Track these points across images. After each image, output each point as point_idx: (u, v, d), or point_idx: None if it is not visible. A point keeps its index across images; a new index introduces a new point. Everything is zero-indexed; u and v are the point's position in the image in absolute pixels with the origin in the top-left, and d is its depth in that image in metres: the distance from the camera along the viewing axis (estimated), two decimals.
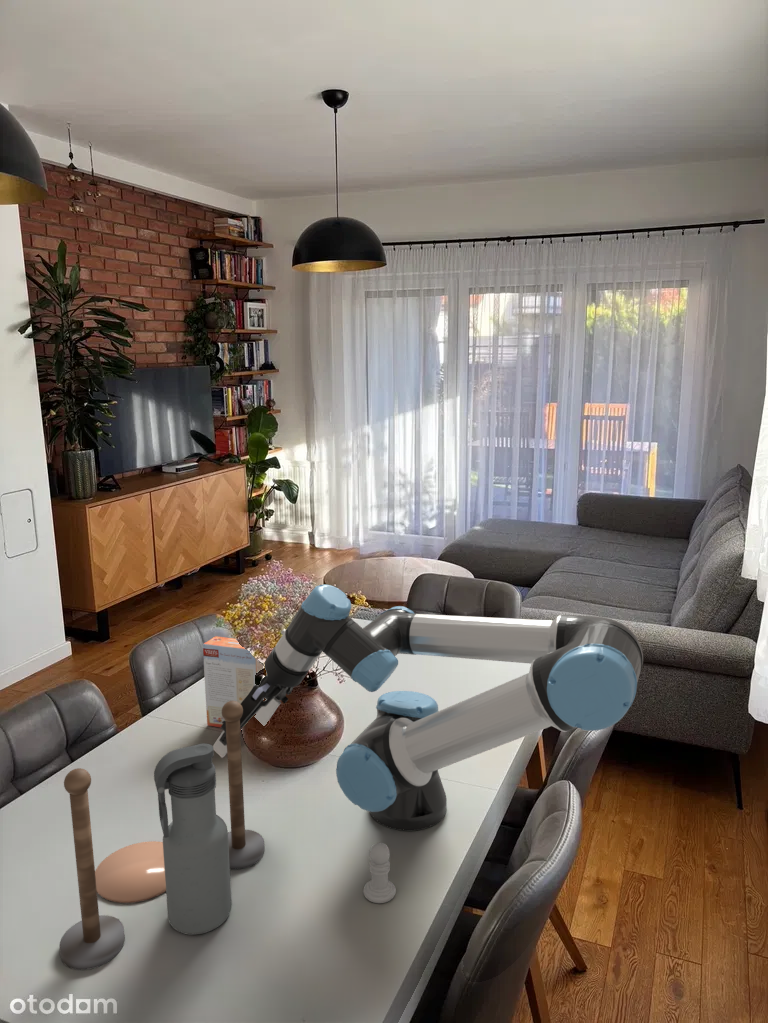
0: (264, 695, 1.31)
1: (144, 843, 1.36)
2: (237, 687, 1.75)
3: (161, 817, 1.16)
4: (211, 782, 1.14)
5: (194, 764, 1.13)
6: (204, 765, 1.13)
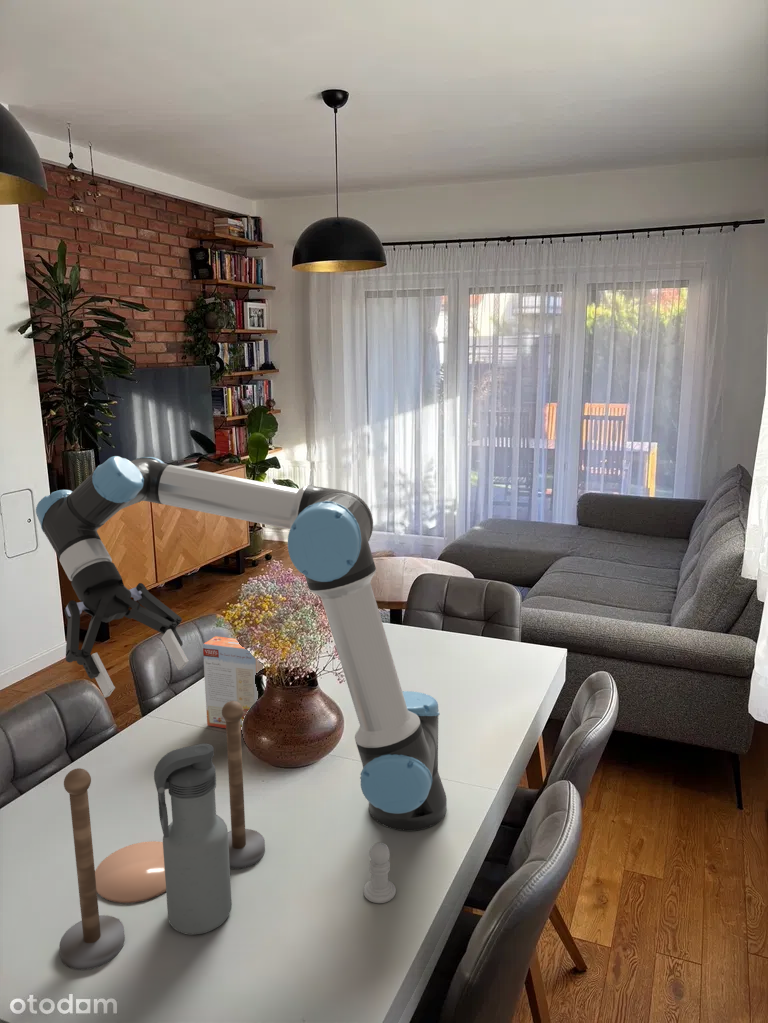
0: (70, 602, 1.21)
1: (144, 843, 1.36)
2: (237, 687, 1.75)
3: (161, 817, 1.16)
4: (211, 782, 1.14)
5: (194, 764, 1.13)
6: (204, 765, 1.13)
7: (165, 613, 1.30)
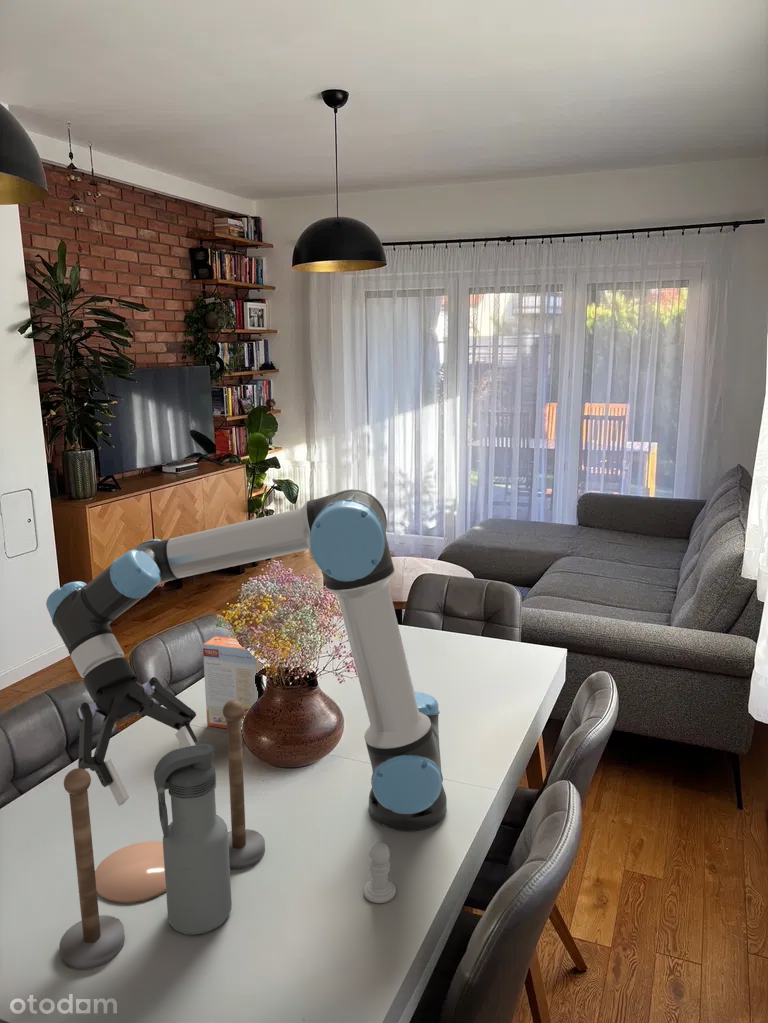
0: (83, 704, 1.18)
1: (144, 843, 1.36)
2: (237, 687, 1.75)
3: (161, 817, 1.16)
4: (211, 782, 1.14)
5: (194, 764, 1.13)
6: (204, 765, 1.13)
7: (179, 708, 1.27)
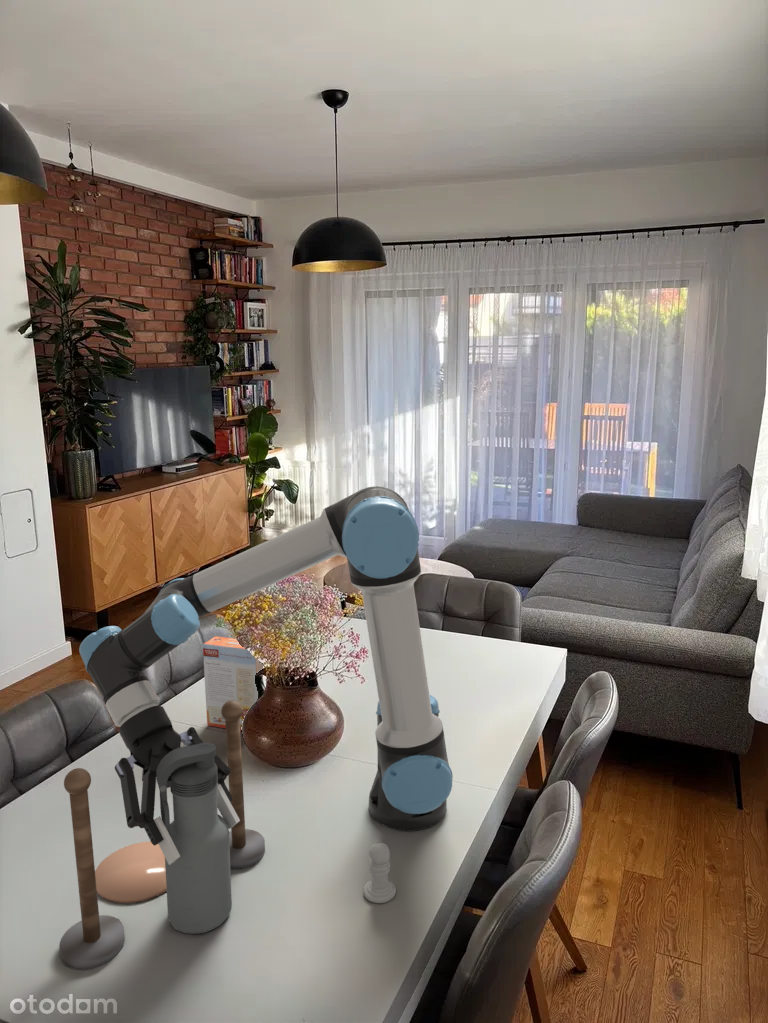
0: (121, 760, 1.14)
1: (144, 843, 1.36)
2: (237, 687, 1.75)
3: (162, 816, 1.16)
4: (213, 781, 1.14)
5: (196, 763, 1.14)
6: (206, 764, 1.14)
7: None
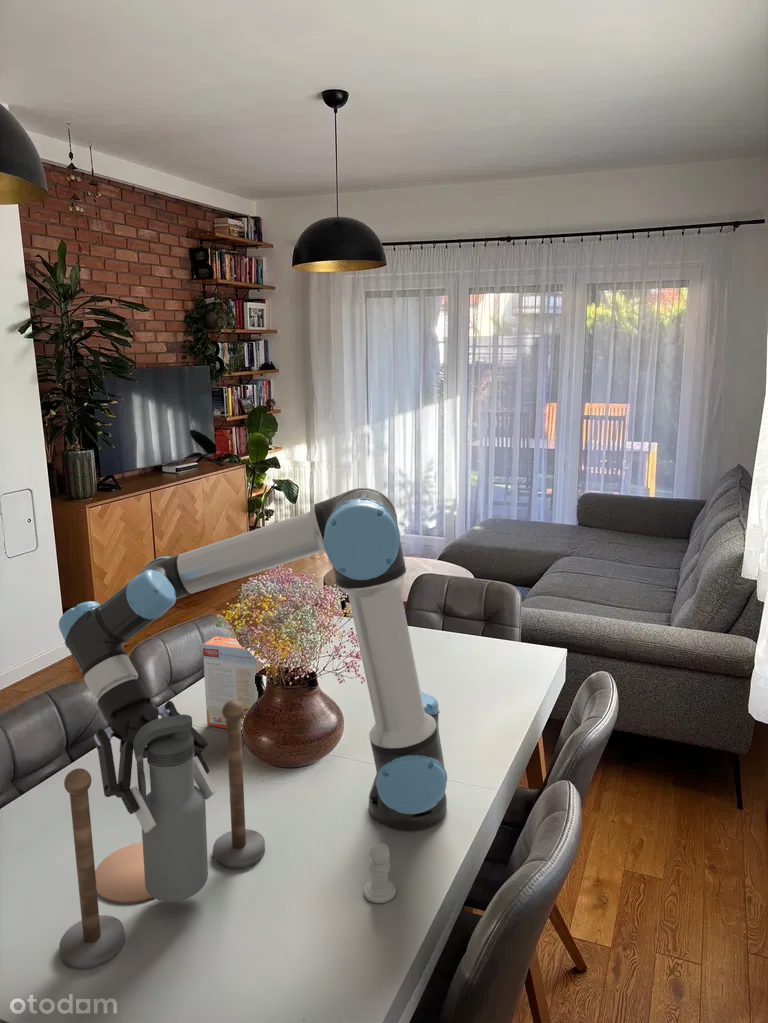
0: (99, 731, 1.16)
1: None
2: (237, 687, 1.75)
3: (140, 786, 1.18)
4: (189, 752, 1.16)
5: (173, 734, 1.16)
6: (182, 735, 1.16)
7: None
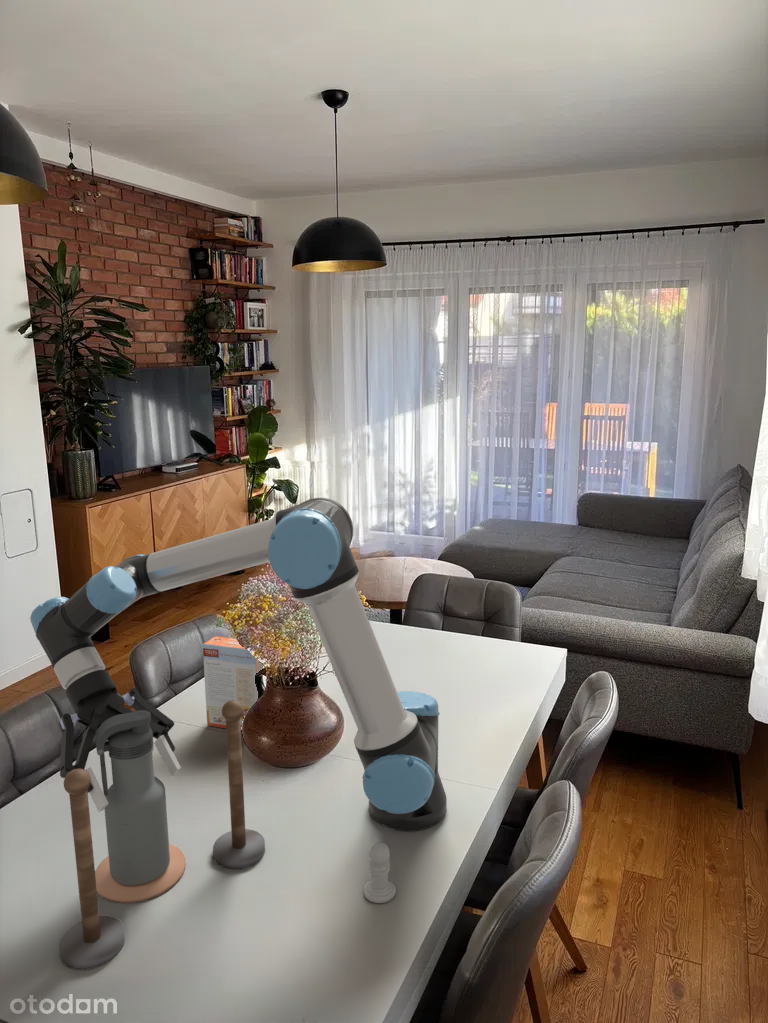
0: (64, 715, 1.24)
1: None
2: (237, 687, 1.75)
3: (103, 778, 1.25)
4: (148, 745, 1.23)
5: (132, 728, 1.23)
6: (141, 729, 1.23)
7: (158, 718, 1.33)
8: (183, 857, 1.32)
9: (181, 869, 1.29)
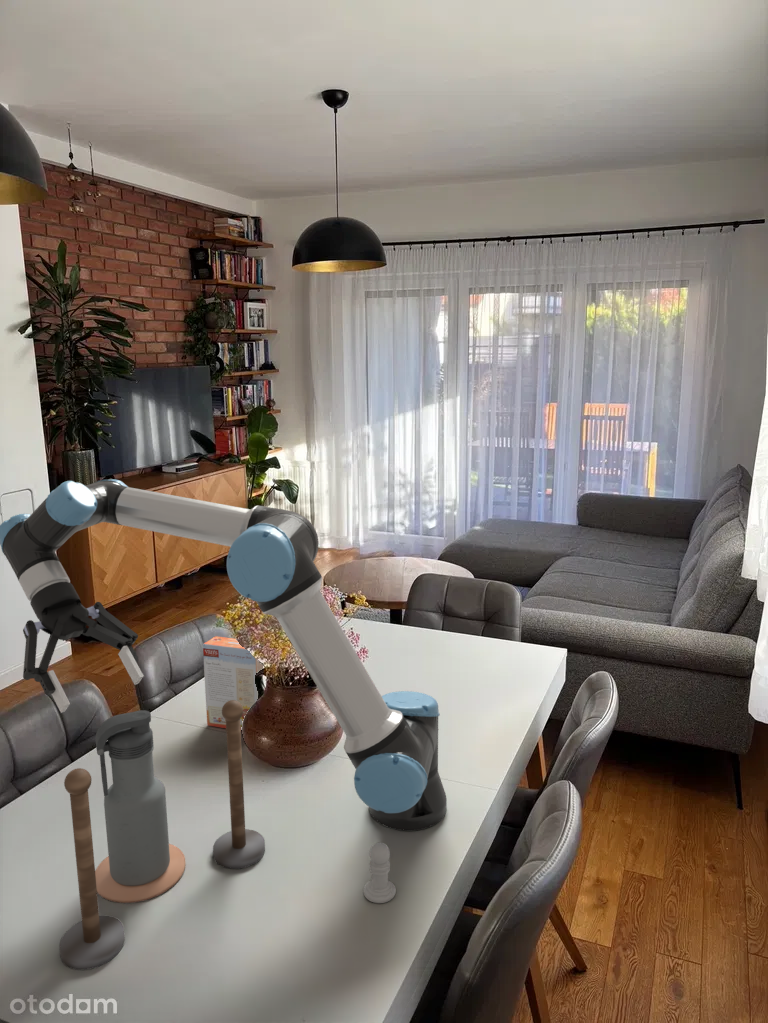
0: (28, 622, 1.27)
1: None
2: (237, 687, 1.75)
3: (103, 778, 1.25)
4: (148, 745, 1.23)
5: (132, 728, 1.23)
6: (141, 729, 1.23)
7: (122, 630, 1.36)
8: (183, 857, 1.32)
9: (181, 869, 1.29)
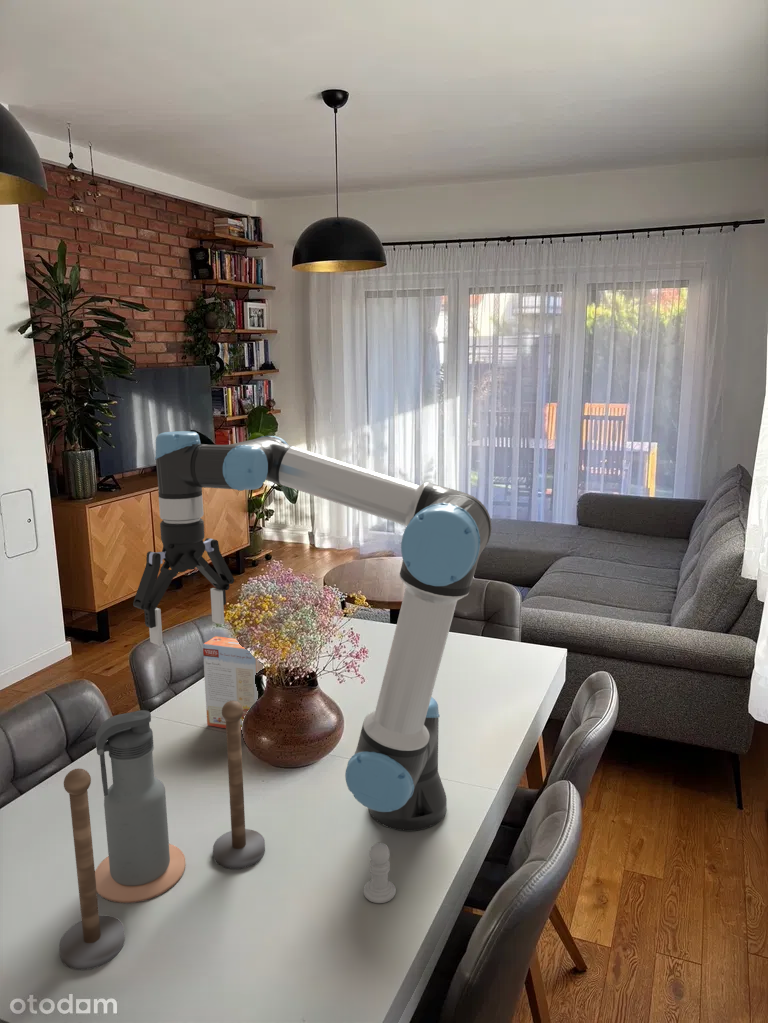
0: (156, 555, 1.29)
1: None
2: (237, 687, 1.75)
3: (103, 778, 1.25)
4: (148, 745, 1.23)
5: (132, 728, 1.23)
6: (141, 729, 1.23)
7: (224, 573, 1.42)
8: (183, 857, 1.32)
9: (181, 869, 1.29)
